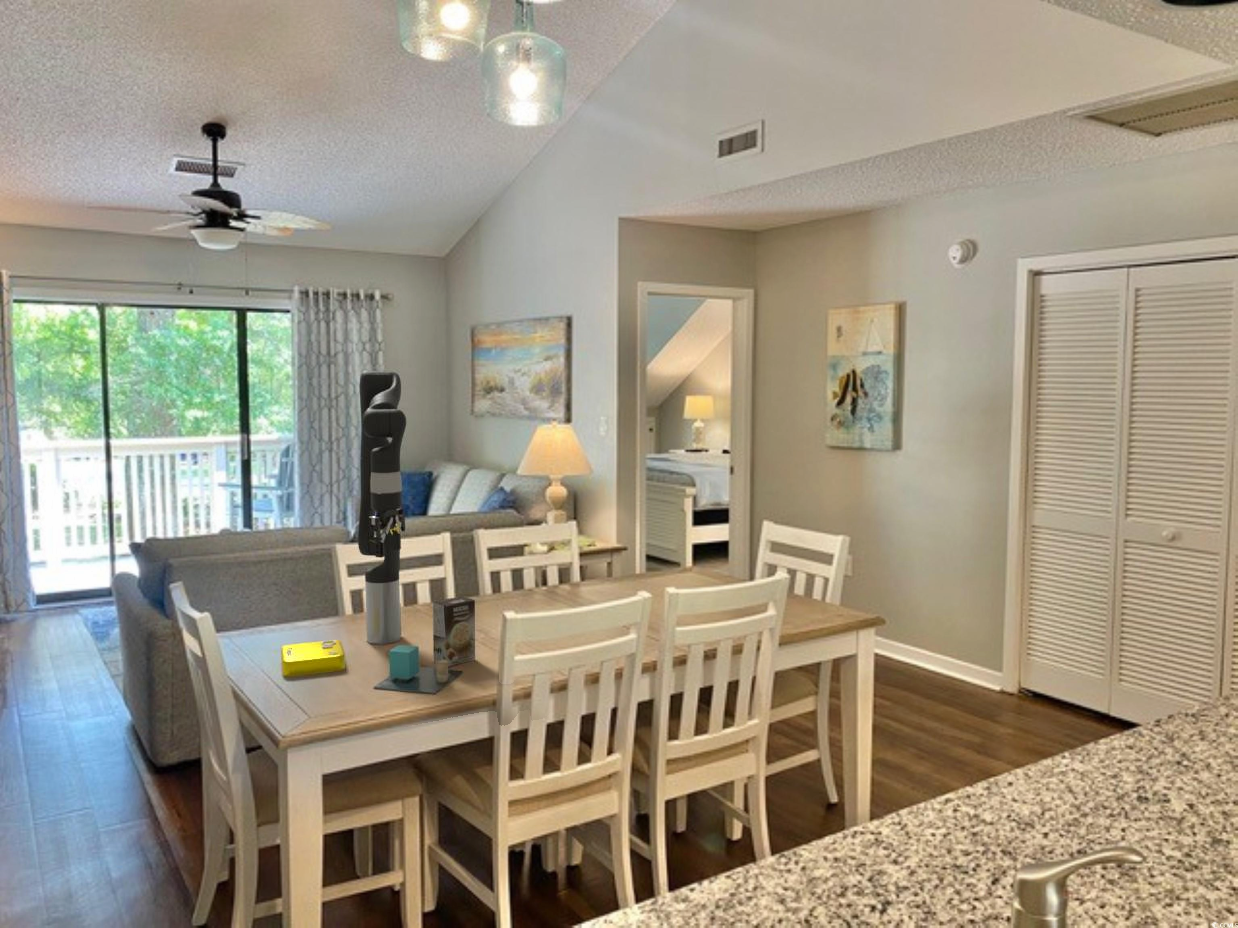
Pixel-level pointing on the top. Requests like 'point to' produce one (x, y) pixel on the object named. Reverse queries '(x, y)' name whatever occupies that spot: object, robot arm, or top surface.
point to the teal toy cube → (404, 661)
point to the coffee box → (454, 630)
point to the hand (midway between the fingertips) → (388, 553)
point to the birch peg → (441, 671)
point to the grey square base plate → (418, 682)
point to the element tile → (312, 658)
